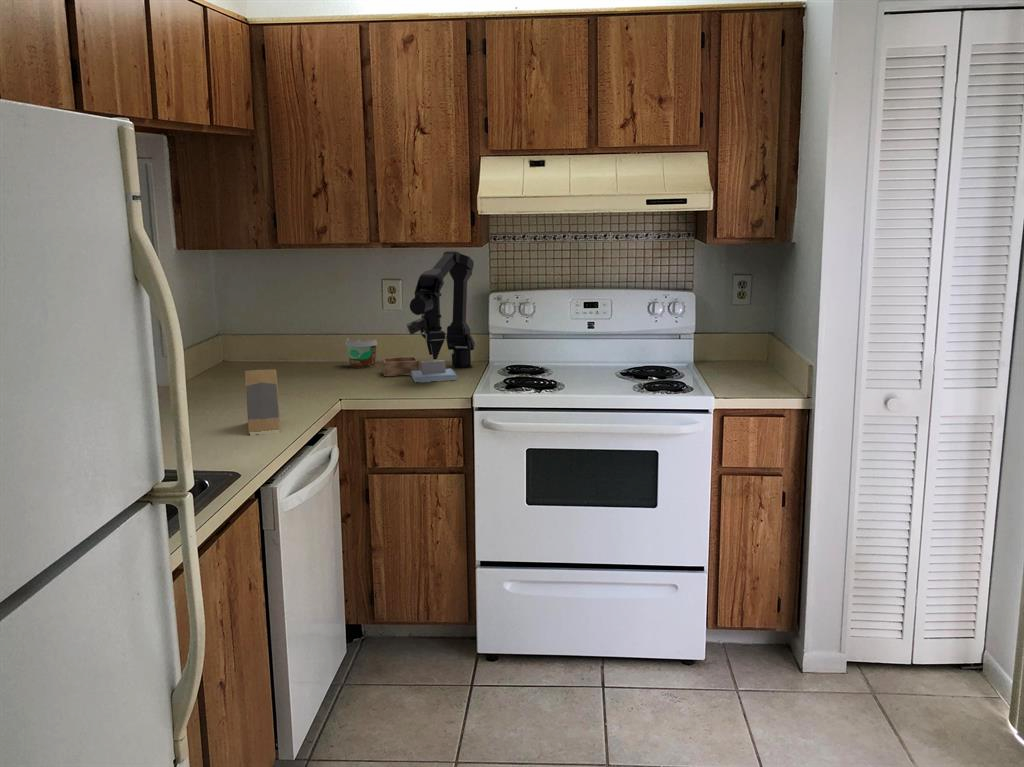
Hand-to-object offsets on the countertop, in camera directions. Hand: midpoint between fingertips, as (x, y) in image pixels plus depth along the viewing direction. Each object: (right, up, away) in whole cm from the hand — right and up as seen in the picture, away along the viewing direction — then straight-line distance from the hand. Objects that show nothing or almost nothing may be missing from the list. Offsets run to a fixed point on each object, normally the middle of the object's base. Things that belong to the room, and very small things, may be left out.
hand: (433, 357), depth 314 cm
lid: (0, -7, +2) cm, 7 cm away
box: (-12, -5, +11) cm, 17 cm away
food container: (-29, -3, +24) cm, 38 cm away
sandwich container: (-41, -21, -61) cm, 76 cm away
